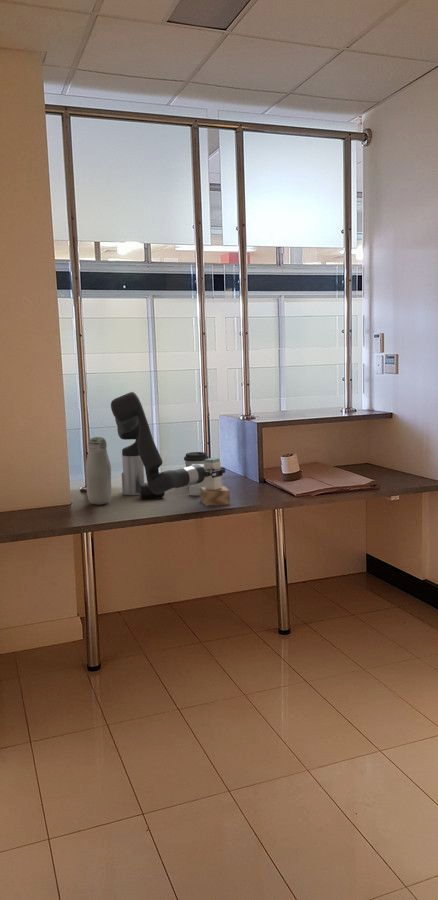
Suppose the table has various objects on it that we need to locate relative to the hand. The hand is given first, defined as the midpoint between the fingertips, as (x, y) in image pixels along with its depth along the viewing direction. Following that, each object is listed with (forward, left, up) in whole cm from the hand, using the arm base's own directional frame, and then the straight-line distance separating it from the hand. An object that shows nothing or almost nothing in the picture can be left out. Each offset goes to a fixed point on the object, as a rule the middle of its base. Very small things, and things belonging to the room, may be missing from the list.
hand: (216, 469), depth 290 cm
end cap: (-29, +5, -14) cm, 33 cm away
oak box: (0, -2, -14) cm, 14 cm away
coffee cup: (-14, +31, -14) cm, 37 cm away
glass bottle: (-48, -7, -14) cm, 50 cm away
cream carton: (-1, -2, -8) cm, 8 cm away
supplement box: (-10, +14, -14) cm, 22 cm away
